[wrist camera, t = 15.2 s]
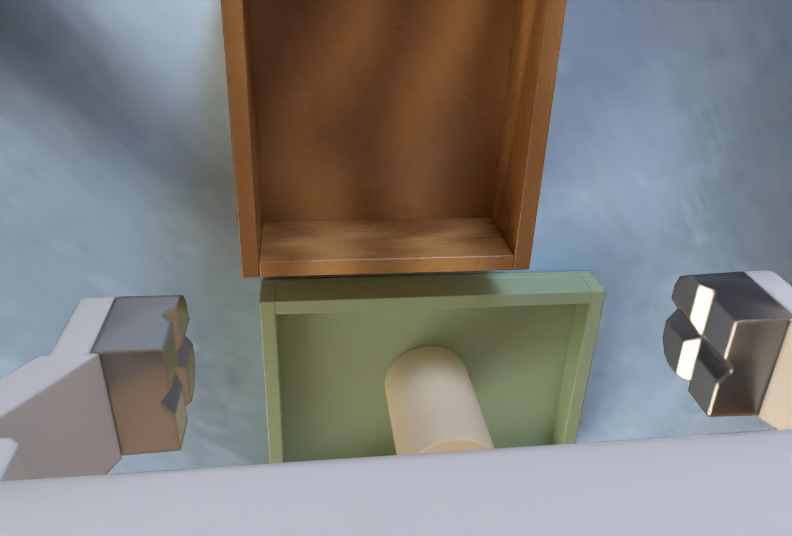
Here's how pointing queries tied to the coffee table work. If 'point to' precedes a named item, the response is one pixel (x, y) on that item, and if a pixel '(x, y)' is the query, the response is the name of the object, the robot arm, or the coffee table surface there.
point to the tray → (420, 327)
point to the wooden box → (388, 132)
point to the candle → (434, 404)
